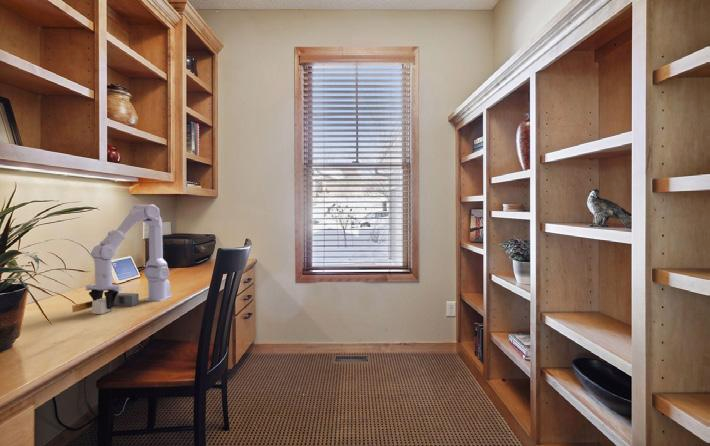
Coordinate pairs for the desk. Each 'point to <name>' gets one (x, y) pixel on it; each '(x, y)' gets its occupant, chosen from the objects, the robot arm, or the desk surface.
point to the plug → (100, 306)
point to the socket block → (126, 299)
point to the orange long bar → (82, 306)
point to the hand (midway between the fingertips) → (104, 308)
